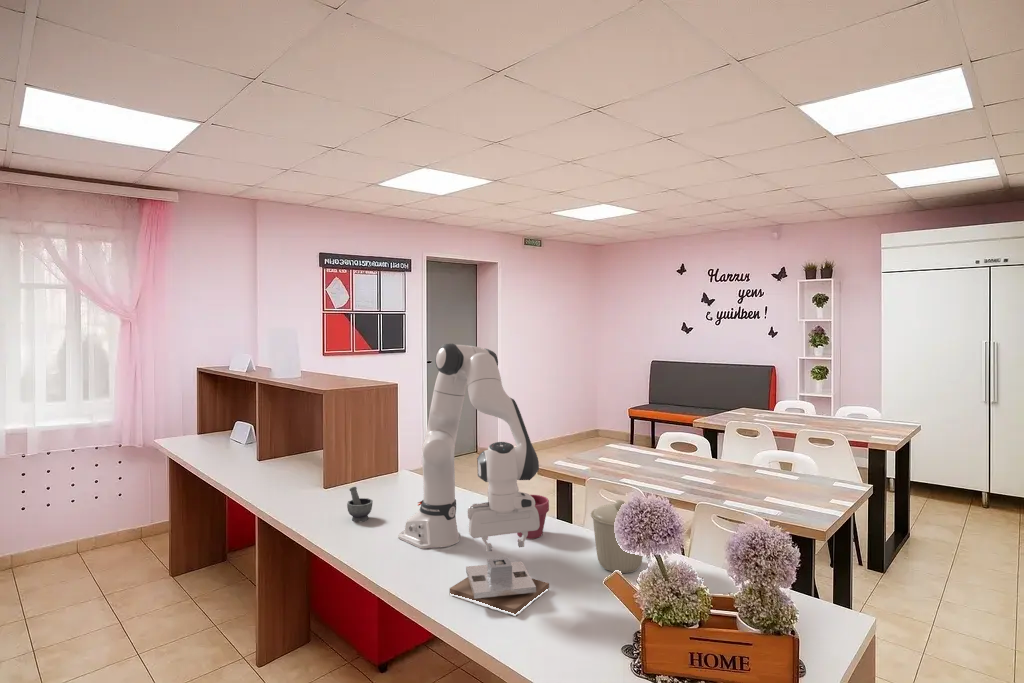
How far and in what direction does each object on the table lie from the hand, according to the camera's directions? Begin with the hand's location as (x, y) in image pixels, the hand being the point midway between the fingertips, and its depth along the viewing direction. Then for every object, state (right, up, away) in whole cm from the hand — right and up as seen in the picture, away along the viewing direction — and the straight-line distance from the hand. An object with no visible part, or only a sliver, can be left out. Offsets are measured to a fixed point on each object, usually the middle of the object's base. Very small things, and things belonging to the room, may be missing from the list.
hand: (505, 548), depth 162 cm
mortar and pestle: (-58, -11, +61) cm, 85 cm away
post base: (-2, -13, 0) cm, 13 cm away
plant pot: (+8, -11, +45) cm, 47 cm away
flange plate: (-2, -9, 0) cm, 9 cm away
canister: (+36, -12, +17) cm, 42 cm away
